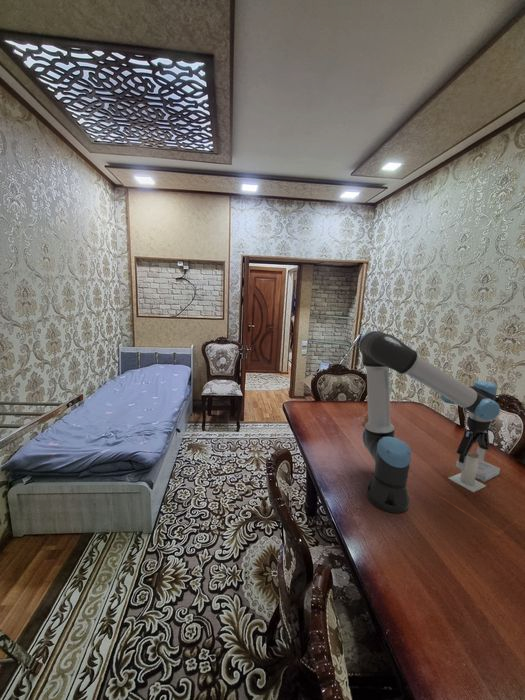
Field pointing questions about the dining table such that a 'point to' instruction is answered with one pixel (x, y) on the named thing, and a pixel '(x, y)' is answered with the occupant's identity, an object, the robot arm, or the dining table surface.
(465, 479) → the off-white cylinder
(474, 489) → the pad
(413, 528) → the dining table surface
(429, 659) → the dining table surface
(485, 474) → the housing
